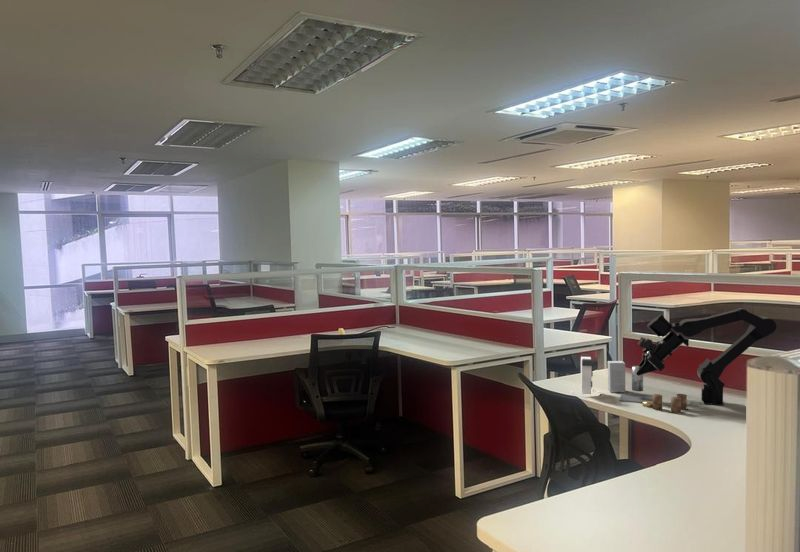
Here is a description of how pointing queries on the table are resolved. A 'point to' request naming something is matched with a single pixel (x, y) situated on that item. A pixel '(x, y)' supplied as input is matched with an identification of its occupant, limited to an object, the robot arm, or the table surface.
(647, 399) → the mat
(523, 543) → the table surface
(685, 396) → the spacer
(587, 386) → the narrow upright pillar
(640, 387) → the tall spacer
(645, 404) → the nut
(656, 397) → the spacer
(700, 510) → the table surface
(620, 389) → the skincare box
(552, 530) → the table surface
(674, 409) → the spacer
